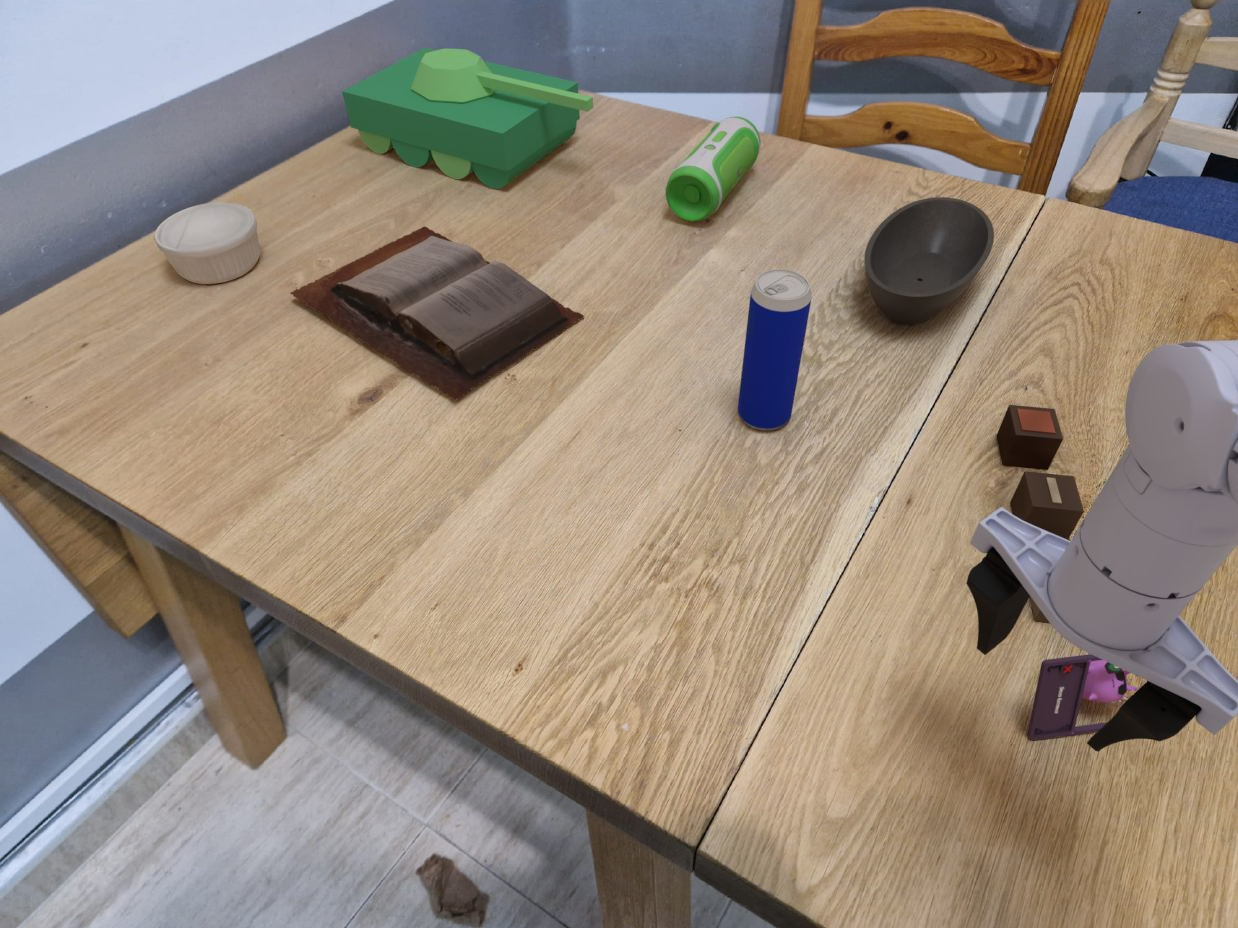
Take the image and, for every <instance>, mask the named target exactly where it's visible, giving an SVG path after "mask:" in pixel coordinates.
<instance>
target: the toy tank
mask: <svg viewBox="0 0 1238 928" xmlns="http://www.w3.org/2000/svg"><path fill="white" fill-rule="evenodd" d="M341 93H342V96H343V101H344V105H345V109H346V114H347V117H348V121H349V125H350V128H351V129H355V130H358V134H359V136H360V138H361V139H362V141H363V142H364V144H365V145H366V147H368V148H369V149H370V150H371V151H372V152H374V153H376V154H380V155H381V154H383V155H384V154H385V153H387V152H388V151H390V150H392V149H394V151H395V153H396V154H397V156H398V157H399V158H400V159H401V160H402V161H403V162H404V163H406V164H407V165H409V166H410V167H414V168H420V167H423V166H425V165H426V164H428V163H430V162H431V161H432V160H433V161H434V163H435V165H436V166H437V167H438V169H439V170H440V171H441V172H442V173H443V174H444V175H446V176H447V177H449V178H451V179H454V180H455V179H456V180H462V179H464V178H466V177H467V176H469V175H470V174H472V173H474V174H475V176H476V178H477V179H478V180H479V181H480V182H481V183H482V184H483V185H485V186H486V187H488V188H490V189H493V190H494V189H495V190H499V189H502V188H504V187H505V186H507V185H508V184H509V183H511V182H512V181H514V180H515V179H516V178H518V177H519V176H521V175H522V174H523V173H524V172H526V171H528V170H529V169H530V168H532V166H534V165H536V164H537V163H538V162H539V161H541V160H542V159H544V158H545V157H546V156H548V155H549V154H551V153H552V152H553V151H555V150H556V149H557V148H559V147H560V146H562V145H563V144H564V143H566V142H567V141H569V140H570V139H571V138H572V137H574V134H575V132H576V129H577V125H578V121H579V120H580V119H581V115H580V111H581V112H587V113H588V112H590V111H591V110H592V109H594V97H593V96H590V95H586V94H581V93H579V82H578V81H573V80H568V79H564V78H559V77H556V76H552V75H547V74H542V73H538V72H534V71H529V70H525V69H521V68H517V67H512V66H508V65H503V64H498V63H494V62H490V61H485V60H483V59H482V57H481V56H480V55H479V54H477V53H475V52H472V51H471V50H469V49H463V48H446V47H445V48H441V49H437V50H436V49H433V48H429V47H423V48H421V49H419V50H418V51H415V52H413V53H412V54H409V55H408V56H406V57H404V58H402V59H400V60H399V61H396V62H395V63H393V64H391V65H389V66H387V67H385V68H383V69H382V70H380V71H377V72H375V73H373V74H372V75H370V76H368V77H366V78H364V79H362V80H360V81H359V82H357V83H355V84H353V85H351V86H349V87H347V88H346V89H344V90H342V91H341Z"/></svg>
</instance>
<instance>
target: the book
mask: <svg viewBox="0 0 1238 928" xmlns="http://www.w3.org/2000/svg"><path fill="white" fill-rule="evenodd" d="M290 295H292V296H293V297H294V298H296V299H298V300H299V301H301V302H303V304H306V306H308V307H309V308H310V309H313V310H315V312H317V313H320V314H322V316H323V317H325V318H326V319H329V320H331V321H332V322H333V323H334V324H336V325H337V326H339V327H340V328H343V329H344V330H346V331H347V332H348V333H350V334H351V335H353V336H354V337H355V338H358V340H361V341H362V342H364V343H365V344H367V345H368V346H369V347H371V348H373V349H374V350H376V351H377V352H379V353H381V354H382V355H385V356H386V357H387V358H389V359H390V360H392V362H394V363H396V365H398V366H401V367H402V368H404V369H406V370H407V371H408V372H410V373H413V374H414V375H415V376H417V377H418V378H419V379H420V380H421V381H423V382H424V383H427V384H428V386H431V387H435V388H436V389H438V391H440V392H442V393H443V394H444V395H447V396H448V397H449V398H452V399H453V401H457V400H460V398H462V397H463V396H466V395H467V394H468V392H471V391H472V389H474V388H477V387H478V386H480V384H483V383H485V382H487V381H488V380H490V377H491V378H493V376H494V375H495V374H498V373H500V372H501V371H503V370H505V369H506V368H507V367H509V366H511V365H514V364H515V363H516V362H518V361H519V360H520V359H522V358H523V357H526V356H527V355H528V354H529V353H532V352H533V351H534V350H536V349H537V348H539V347H541V346H543V345H544V344H545V343H546V342H548V341H549V340H551V339H553V338H555V337H556V336H557V335H560V333H562V332H563V331H565V330H567V329H569V327H571V326H573V325H574V324H575V323H578V322H579V321H580V320H581V319H584V317H585V316H584V315H583V314H582V313H580V312H577V311H574V310H572V309H571V308H570V307H565V306H564V305H563V304H562V303H560V302H559V301H558V300H556V299H554V298H552V297H551V295H549V294H548V293H547V292H544V291H543V290H542V289H540V288H539V287H538V286H536V285H535V284H533V283H532V282H531V281H530V280H528V279H526V278H525V277H524V276H523V275H521V274H520V273H519V272H517V271H515V270H514V269H512V268H511V266H508V265H507V264H506V263H502V262H499V261H497V260H493V261H491V262H490V261H487V260H486V259H485V258H484V257H483V255H482V253H481V252H480V251H478V250H476V249H475V248H474V247H472V246H470V245H468V244H464V243H459V242H455V241H453V240H451V239H449V238H447V236H444V235H442V234H441V233H439V232H435V231H434V230H433V229H430V228H429V227H428V226H422V227H420V228H418V229H415V230H413V231H412V232H411V233H409V234H405V235H403V236H402V237H399V238H396V239H395V240H393V241H391V242H389V243H387V244H385V245H383V246H382V247H379V248H377V249H374V250H373V251H372V252H369V253H368V254H365V255H364V256H361V257H359V258H357V259H355V260H353V261H351V262H349V263H347V264H345V265H343V266H341V267H339V268H337V269H336V270H335V271H331V272H330V273H328V274H325V275H323V276H322V277H320V278H318V279H315V280H314V281H310V282H309V283H307V284H306V285H303V286H301V287H299V289H298V288H296V289H295V290H293V291H290ZM439 342H440V343H442V344H444V345H445V346H446V347H447V348H448V350H449V351H448V352H446V353H443V352H442V351H441V350H440V349H438V348H437V347H438V346H437V345H438V344H437V343H439Z"/></svg>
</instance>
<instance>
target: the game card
mask: <svg viewBox="0 0 1238 928" xmlns="http://www.w3.org/2000/svg"><path fill="white" fill-rule="evenodd" d="M1130 674H1131V673H1130V672H1128V671H1126V670H1124V669H1121V668H1119V667H1117V666H1115V665H1113V664H1111V663H1109V662H1106V661H1104V660H1102V659H1100V658H1098V657H1096V656H1094V655H1092V654H1089V653H1087V654H1082V655H1074V656H1065V657H1057V658H1049V659H1044V660H1042V661H1041V664H1040V669H1039V674H1038V678H1037V679H1038V680H1037V683H1036V688H1035V692H1034V697H1033V703H1032V708H1031V713H1030V717H1029V723H1028V727H1027V733H1026V736H1027V738H1028V739H1029V740H1030V741H1036V740H1037V741H1038V740H1046V739H1054V738H1060V737H1068V736H1075V735H1083V734H1090V733H1092V734H1093V733H1097V732H1098V731H1099V730H1100V729H1101V728H1102V727H1103V726H1104V725H1105V724H1106V723H1107V722H1108V721H1107V722H1099V723H1090V724H1083V725H1077V720H1078V718H1079V717H1078V716H1079V713H1080V708H1081V704H1082V699H1083V700H1086V701H1091V702H1097V703H1105V704H1110V703H1115V702H1119V703H1122V701H1121V699H1123V700H1126V701H1127V700H1128V699H1129V698H1127V697H1125V694H1126V693H1128V692H1134V691H1137V690H1138V687H1135V686H1131V685H1129V684H1128V677H1127V676H1128V675H1130Z"/></svg>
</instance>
